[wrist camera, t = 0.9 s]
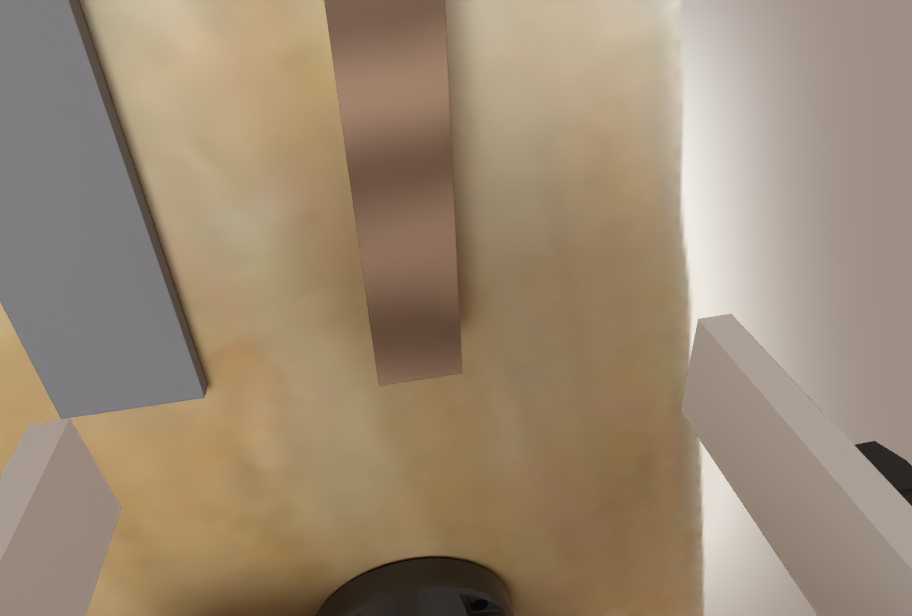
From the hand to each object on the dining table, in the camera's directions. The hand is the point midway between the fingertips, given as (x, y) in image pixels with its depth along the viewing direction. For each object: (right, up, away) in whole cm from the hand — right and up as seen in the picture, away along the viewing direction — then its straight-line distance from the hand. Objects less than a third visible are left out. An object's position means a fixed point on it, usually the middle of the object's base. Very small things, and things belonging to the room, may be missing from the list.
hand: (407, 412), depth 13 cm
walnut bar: (-2, +10, +15) cm, 18 cm away
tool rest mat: (-16, +8, +13) cm, 22 cm away
